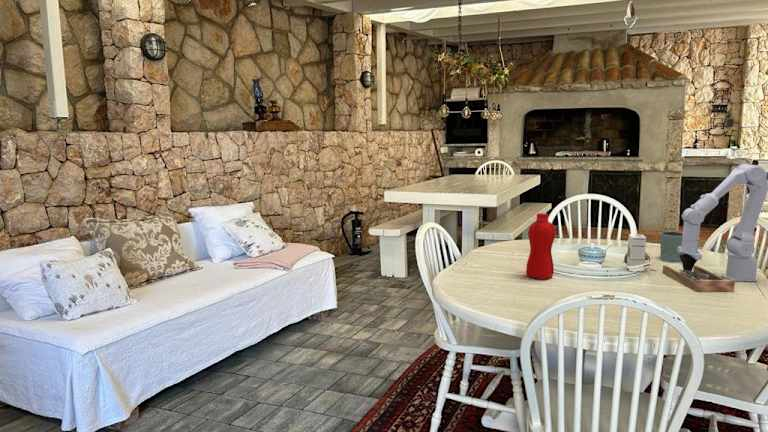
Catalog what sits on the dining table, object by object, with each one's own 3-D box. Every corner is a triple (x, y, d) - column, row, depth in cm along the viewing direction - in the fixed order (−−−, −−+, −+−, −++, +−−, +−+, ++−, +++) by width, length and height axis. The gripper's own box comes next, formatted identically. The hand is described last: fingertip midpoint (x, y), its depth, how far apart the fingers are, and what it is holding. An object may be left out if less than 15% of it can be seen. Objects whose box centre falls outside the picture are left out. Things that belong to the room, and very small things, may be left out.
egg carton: (710, 286, 209) (711, 275, 208) (689, 285, 209) (690, 274, 209) (696, 277, 219) (697, 267, 219) (676, 277, 220) (677, 267, 219)
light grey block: (623, 271, 242) (624, 256, 238) (624, 256, 250) (625, 242, 246) (649, 274, 238) (650, 259, 234) (648, 258, 246) (650, 244, 242)
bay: (696, 272, 226) (696, 263, 226) (733, 291, 202) (735, 281, 201) (662, 272, 226) (663, 263, 226) (696, 291, 202) (697, 280, 201)
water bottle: (558, 275, 222) (561, 212, 218) (544, 281, 214) (548, 216, 210) (536, 271, 228) (539, 210, 224) (522, 276, 220) (525, 213, 216)
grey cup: (685, 259, 249) (687, 232, 247) (682, 264, 240) (685, 236, 238) (659, 256, 254) (662, 230, 252) (656, 261, 246) (659, 233, 244)
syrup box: (644, 272, 227) (647, 236, 225) (628, 271, 228) (631, 236, 226) (640, 268, 233) (643, 234, 230) (625, 267, 234) (628, 233, 231)
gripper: (670, 235, 225) (668, 268, 227) (689, 243, 211) (686, 278, 213) (688, 235, 225) (685, 268, 227) (708, 243, 211) (705, 278, 213)
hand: (687, 273), depth 220 cm, fingers closed
